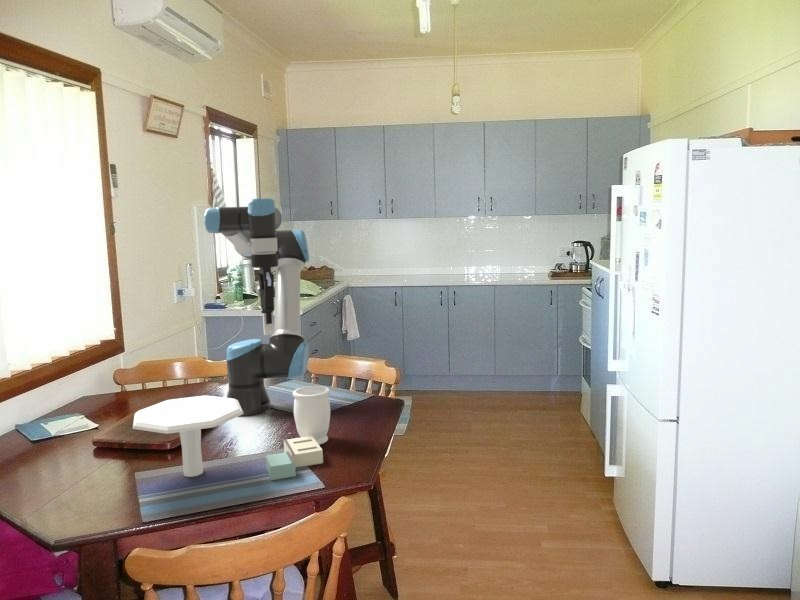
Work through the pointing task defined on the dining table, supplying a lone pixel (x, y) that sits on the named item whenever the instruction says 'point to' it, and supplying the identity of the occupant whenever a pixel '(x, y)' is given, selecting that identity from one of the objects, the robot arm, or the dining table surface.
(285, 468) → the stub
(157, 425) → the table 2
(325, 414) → the jar
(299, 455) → the cream slotted block
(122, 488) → the dining table surface
